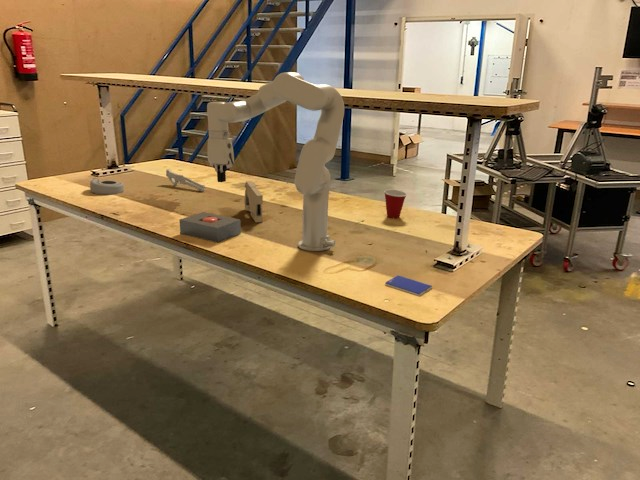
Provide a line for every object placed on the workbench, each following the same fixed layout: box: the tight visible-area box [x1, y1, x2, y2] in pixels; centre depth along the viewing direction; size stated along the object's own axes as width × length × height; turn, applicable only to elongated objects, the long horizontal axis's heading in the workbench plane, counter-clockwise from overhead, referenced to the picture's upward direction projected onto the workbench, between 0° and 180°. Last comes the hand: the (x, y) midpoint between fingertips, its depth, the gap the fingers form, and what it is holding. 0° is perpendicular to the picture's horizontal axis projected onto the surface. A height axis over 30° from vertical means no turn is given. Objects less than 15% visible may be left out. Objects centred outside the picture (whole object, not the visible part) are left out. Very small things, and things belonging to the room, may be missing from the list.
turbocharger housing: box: [89, 177, 125, 196], centre depth 273 cm, size 17×6×15 cm
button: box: [202, 217, 218, 223], centre depth 209 cm, size 6×6×3 cm
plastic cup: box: [383, 189, 408, 219], centre depth 240 cm, size 11×11×12 cm
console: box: [179, 211, 242, 243], centre depth 210 cm, size 20×14×6 cm
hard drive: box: [384, 275, 433, 297], centre depth 165 cm, size 2×8×12 cm
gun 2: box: [243, 180, 264, 223], centre depth 235 cm, size 24×3×15 cm, turn 21°
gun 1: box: [165, 168, 206, 193], centre depth 286 cm, size 2×30×8 cm, turn 56°
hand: (221, 181), depth 205 cm, fingers closed
